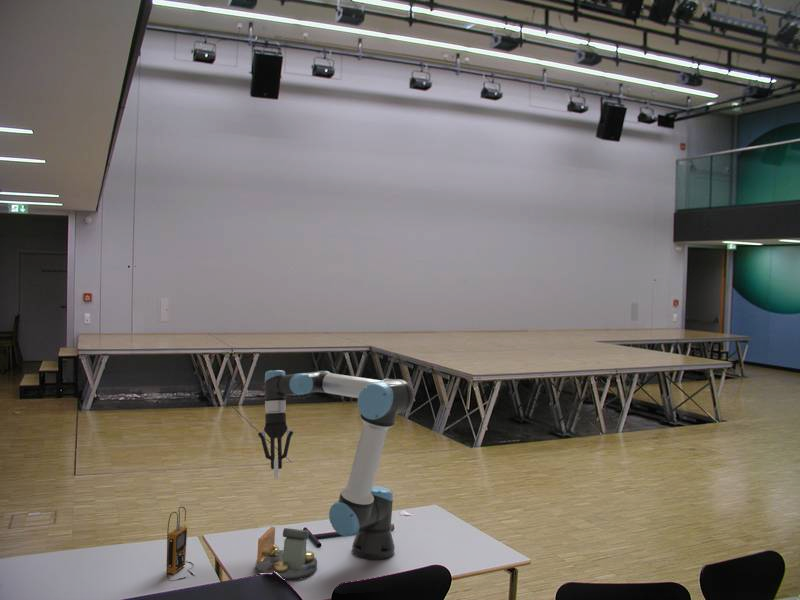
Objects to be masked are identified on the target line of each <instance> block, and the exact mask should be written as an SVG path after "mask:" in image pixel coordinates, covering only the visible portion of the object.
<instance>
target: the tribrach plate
mask: <svg viewBox="0 0 800 600" xmlns="http://www.w3.org/2000/svg"><path fill="white" fill-rule="evenodd" d="M283 556H284V549H279V555H278V556H276V557H268V556H267V557H266V558H265V559H264V560H263V561H262V562H257V560H256V561H255V571H256V570H257V571H256V572H257V573H258V572H259V573H273V572H274V571H275V572H277V573H278V574H279V575H280V576H281V577H282V578H283V579H285V580H286V581H289V582H290V581H297V580H298V581H299V580H304V579H307V578H309V577H311V576H313V575H314V574H315V573H316V572H317V569H318V560H317V558H316V557H315V552H313V551H310V550H306V560H305V564H304V565H303V567H302V569H301V570H300V569H290V568H288V563H287V562H283ZM259 573H258V574H259ZM286 581H285V582H286Z"/></svg>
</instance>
